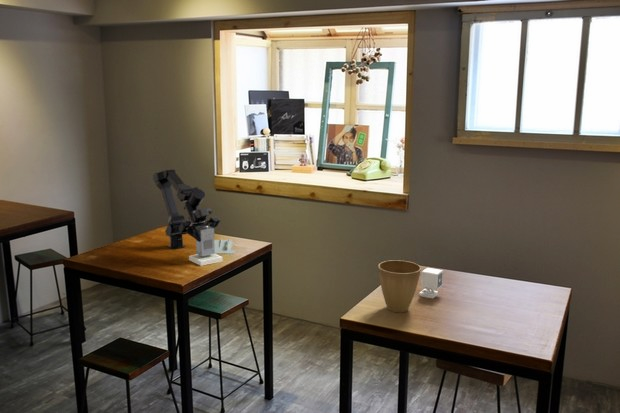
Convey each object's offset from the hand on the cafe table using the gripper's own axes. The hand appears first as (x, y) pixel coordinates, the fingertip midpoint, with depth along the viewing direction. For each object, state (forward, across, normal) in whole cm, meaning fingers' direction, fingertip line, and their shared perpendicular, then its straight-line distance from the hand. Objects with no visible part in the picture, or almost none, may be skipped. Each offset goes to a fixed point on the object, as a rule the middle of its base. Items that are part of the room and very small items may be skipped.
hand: (206, 240), depth 274 cm
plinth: (+6, 0, +8) cm, 10 cm away
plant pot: (+73, +25, -60) cm, 97 cm away
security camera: (+71, +45, -58) cm, 102 cm away
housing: (+4, 0, +6) cm, 7 cm away
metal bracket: (-1, +14, +16) cm, 21 cm away
